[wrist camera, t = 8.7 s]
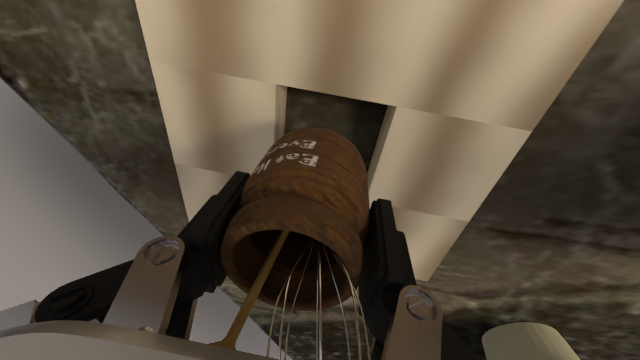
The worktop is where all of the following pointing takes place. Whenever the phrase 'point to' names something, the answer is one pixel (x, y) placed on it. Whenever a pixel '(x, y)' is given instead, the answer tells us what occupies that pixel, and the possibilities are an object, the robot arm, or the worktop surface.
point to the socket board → (369, 90)
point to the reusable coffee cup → (526, 343)
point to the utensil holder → (300, 230)
